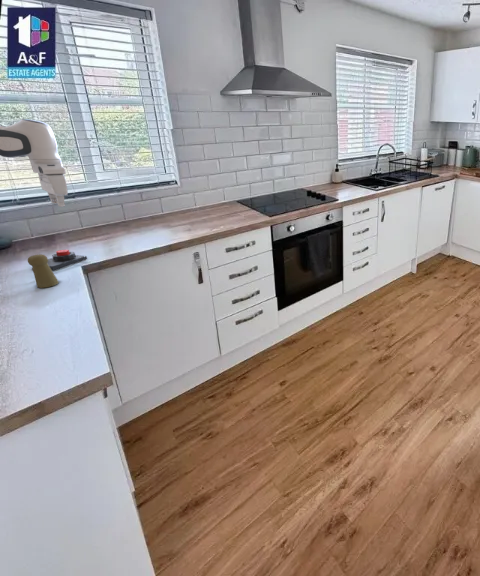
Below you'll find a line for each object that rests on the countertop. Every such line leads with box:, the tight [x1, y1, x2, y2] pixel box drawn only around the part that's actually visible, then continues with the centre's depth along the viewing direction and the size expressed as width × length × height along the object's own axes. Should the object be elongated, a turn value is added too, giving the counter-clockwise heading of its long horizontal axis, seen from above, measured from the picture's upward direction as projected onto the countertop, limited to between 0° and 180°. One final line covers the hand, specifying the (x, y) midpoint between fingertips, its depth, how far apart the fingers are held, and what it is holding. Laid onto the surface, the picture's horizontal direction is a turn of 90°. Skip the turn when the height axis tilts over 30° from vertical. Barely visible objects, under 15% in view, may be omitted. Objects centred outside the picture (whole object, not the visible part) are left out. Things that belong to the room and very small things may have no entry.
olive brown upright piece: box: [27, 253, 60, 289], centre depth 130 cm, size 6×6×11 cm
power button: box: [55, 249, 71, 256], centre depth 149 cm, size 4×4×2 cm
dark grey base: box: [47, 251, 88, 272], centre depth 148 cm, size 14×10×5 cm
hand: (58, 204), depth 142 cm, fingers open, 8 cm apart
